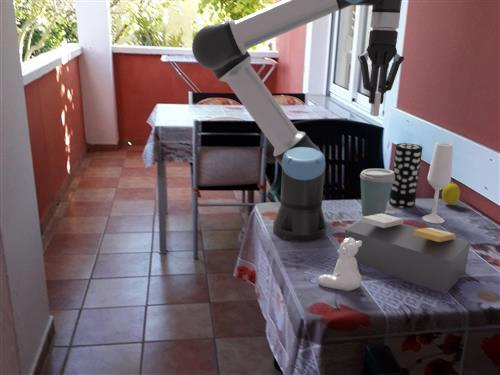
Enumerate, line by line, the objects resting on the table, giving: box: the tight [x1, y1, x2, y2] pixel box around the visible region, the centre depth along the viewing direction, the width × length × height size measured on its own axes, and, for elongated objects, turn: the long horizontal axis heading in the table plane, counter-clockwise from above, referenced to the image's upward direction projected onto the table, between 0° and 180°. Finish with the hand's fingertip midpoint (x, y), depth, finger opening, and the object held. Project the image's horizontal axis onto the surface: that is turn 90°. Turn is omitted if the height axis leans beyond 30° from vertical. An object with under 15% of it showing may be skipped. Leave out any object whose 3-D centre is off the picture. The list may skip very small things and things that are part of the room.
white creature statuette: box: [317, 237, 363, 292], centre depth 112 cm, size 10×9×12 cm
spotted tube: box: [388, 142, 423, 209], centre depth 164 cm, size 8×8×20 cm
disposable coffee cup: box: [359, 168, 395, 217], centre depth 153 cm, size 11×11×15 cm
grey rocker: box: [360, 213, 405, 228], centre depth 124 cm, size 12×6×1 cm, turn 140°
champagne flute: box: [421, 141, 454, 224], centre depth 150 cm, size 7×7×24 cm
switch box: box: [344, 220, 471, 295], centre depth 122 cm, size 14×26×8 cm, turn 50°
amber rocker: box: [413, 227, 456, 242], centre depth 117 cm, size 12×6×1 cm, turn 140°
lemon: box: [441, 181, 461, 206], centre depth 166 cm, size 6×6×8 cm
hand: (374, 115), depth 143 cm, fingers closed
